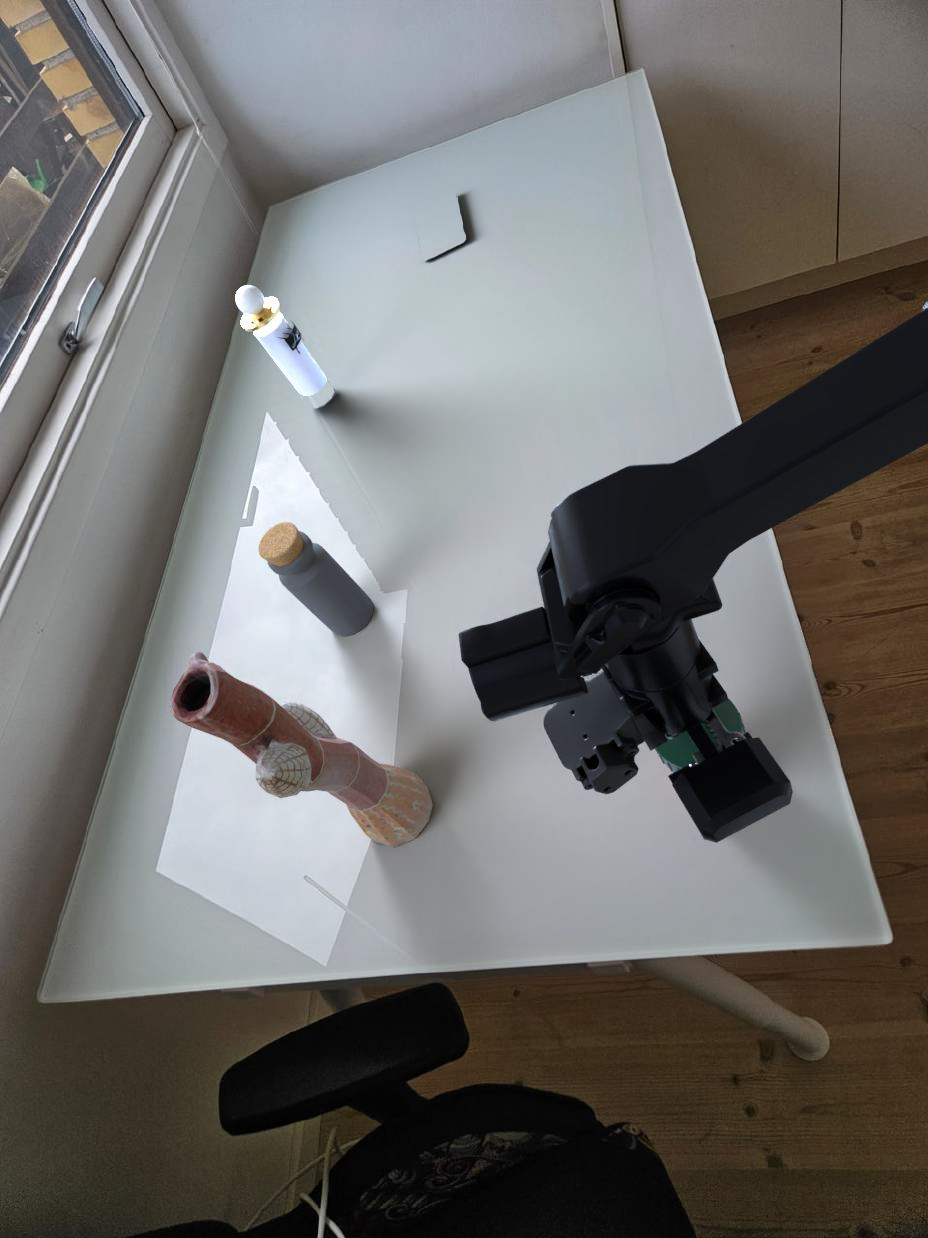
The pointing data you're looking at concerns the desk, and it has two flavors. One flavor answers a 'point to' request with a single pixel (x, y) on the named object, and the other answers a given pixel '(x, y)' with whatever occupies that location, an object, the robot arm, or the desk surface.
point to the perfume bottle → (279, 340)
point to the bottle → (316, 579)
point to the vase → (301, 752)
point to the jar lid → (682, 747)
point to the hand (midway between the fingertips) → (696, 748)
